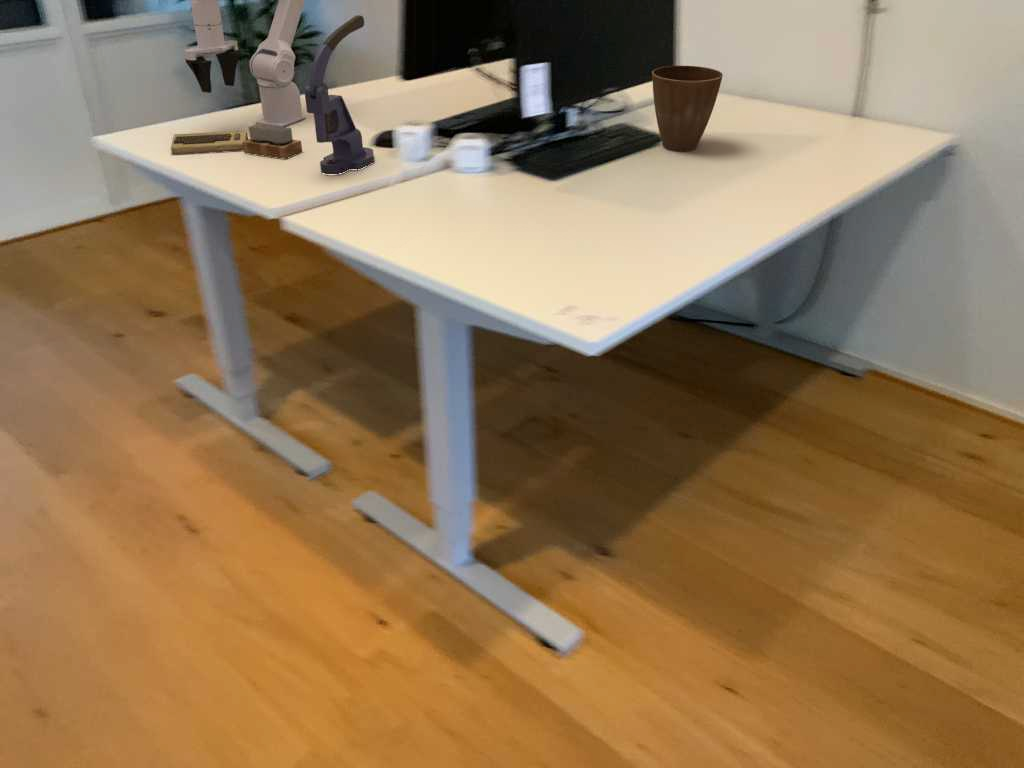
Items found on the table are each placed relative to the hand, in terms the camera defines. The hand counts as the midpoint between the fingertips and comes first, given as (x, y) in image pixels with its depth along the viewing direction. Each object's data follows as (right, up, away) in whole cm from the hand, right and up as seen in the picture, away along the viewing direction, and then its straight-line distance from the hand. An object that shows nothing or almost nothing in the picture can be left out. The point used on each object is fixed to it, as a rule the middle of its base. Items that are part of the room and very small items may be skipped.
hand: (218, 88), depth 192 cm
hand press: (+32, -21, -13) cm, 40 cm away
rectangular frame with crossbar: (+14, -16, -6) cm, 22 cm away
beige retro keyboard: (0, -15, -3) cm, 15 cm away
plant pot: (+104, -14, -1) cm, 105 cm away
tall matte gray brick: (+14, -16, -6) cm, 22 cm away
